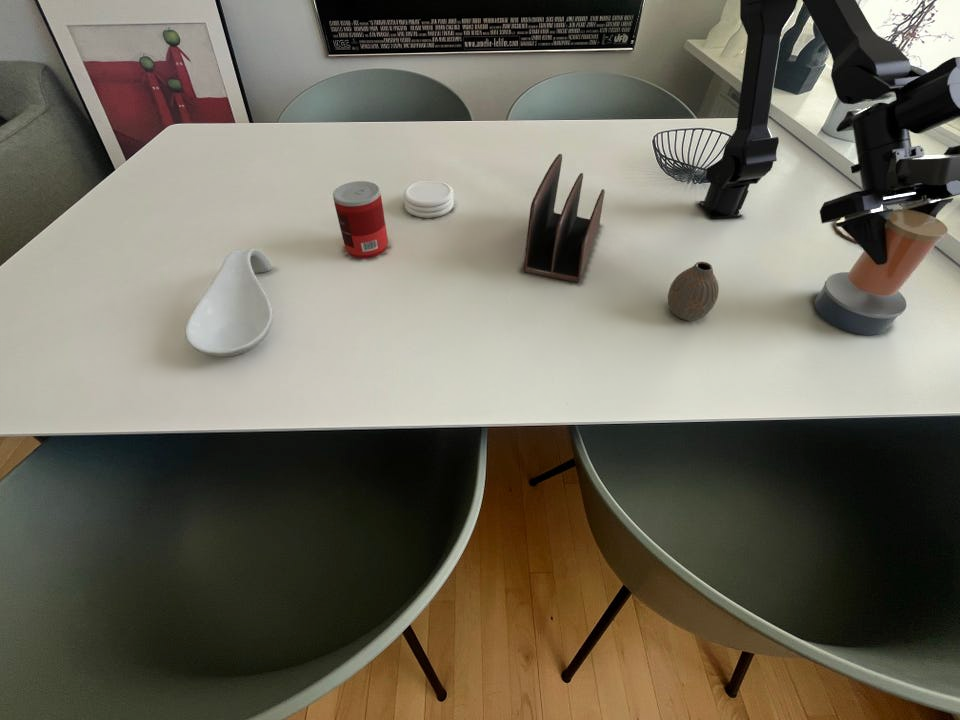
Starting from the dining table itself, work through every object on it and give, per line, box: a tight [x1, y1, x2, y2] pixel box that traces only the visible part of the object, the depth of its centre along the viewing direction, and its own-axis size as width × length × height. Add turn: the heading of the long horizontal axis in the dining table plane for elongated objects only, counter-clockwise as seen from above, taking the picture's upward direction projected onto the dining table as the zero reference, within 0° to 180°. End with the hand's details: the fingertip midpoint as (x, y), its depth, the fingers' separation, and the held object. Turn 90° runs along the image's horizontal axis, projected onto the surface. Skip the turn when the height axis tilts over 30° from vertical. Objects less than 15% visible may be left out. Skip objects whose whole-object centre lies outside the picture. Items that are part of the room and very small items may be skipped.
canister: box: [848, 208, 949, 296], centre depth 68 cm, size 7×7×10 cm
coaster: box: [403, 179, 455, 219], centre depth 98 cm, size 10×10×4 cm
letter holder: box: [522, 153, 606, 283], centre depth 83 cm, size 10×20×14 cm, turn 160°
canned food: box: [332, 180, 389, 260], centre depth 84 cm, size 8×8×11 cm
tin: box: [813, 271, 907, 336], centre depth 74 cm, size 11×11×4 cm
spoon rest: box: [184, 248, 274, 357], centre depth 73 cm, size 24×12×7 cm, turn 9°
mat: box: [834, 217, 858, 244], centre depth 92 cm, size 10×10×1 cm
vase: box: [667, 261, 720, 321], centre depth 73 cm, size 7×7×9 cm
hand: (901, 260), depth 67 cm, fingers closed on canister, 6 cm apart
